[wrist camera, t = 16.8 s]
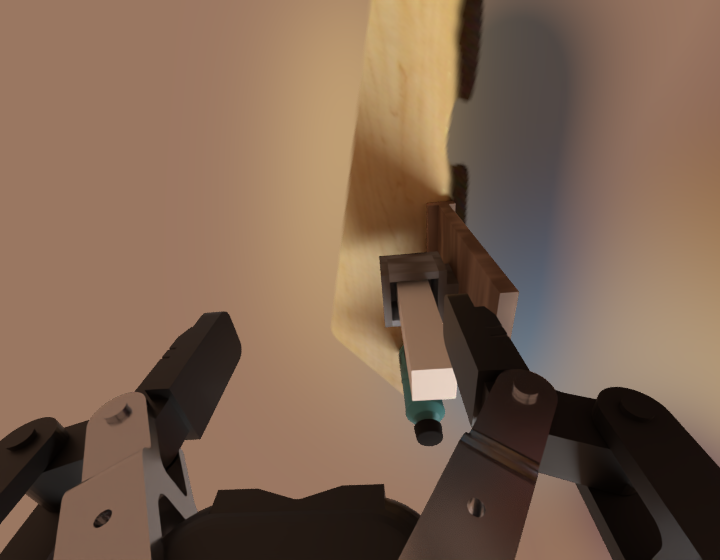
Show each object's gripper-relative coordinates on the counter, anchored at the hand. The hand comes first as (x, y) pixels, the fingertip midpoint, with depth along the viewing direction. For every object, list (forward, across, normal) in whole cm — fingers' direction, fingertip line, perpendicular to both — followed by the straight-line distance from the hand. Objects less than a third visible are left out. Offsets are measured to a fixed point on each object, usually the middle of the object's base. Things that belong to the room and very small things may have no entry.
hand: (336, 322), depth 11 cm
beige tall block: (+28, -6, +16) cm, 33 cm away
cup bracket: (+38, -8, +16) cm, 42 cm away
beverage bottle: (+38, -7, +37) cm, 54 cm away
